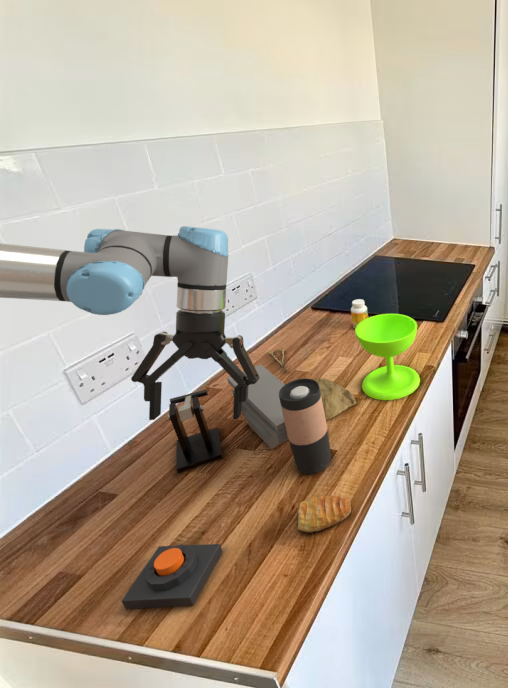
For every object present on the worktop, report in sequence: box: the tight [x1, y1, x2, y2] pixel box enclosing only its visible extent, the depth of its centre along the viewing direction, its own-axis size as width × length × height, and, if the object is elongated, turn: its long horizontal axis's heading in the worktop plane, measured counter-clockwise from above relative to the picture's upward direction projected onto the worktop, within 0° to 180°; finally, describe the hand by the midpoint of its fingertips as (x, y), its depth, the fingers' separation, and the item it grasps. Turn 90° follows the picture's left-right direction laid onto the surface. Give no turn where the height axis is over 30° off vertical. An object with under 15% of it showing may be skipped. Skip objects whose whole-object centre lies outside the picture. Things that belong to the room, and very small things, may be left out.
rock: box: [315, 377, 357, 421], centre depth 109 cm, size 11×9×10 cm
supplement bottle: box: [350, 298, 369, 330], centre depth 149 cm, size 5×5×10 cm
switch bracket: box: [167, 397, 223, 474], centre depth 94 cm, size 10×8×13 cm
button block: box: [121, 543, 224, 610], centre depth 71 cm, size 10×9×4 cm
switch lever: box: [169, 389, 209, 422], centre depth 96 cm, size 13×7×2 cm, turn 34°
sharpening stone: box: [226, 364, 289, 450], centre depth 102 cm, size 25×8×11 cm, turn 51°
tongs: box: [268, 347, 287, 373], centre depth 129 cm, size 4×13×2 cm, turn 40°
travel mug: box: [279, 378, 332, 475], centre depth 91 cm, size 8×8×20 cm
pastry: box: [297, 494, 352, 533], centre depth 83 cm, size 9×7×4 cm
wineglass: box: [354, 313, 421, 401], centre depth 119 cm, size 16×16×18 cm
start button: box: [154, 548, 184, 576], centre depth 70 cm, size 4×4×2 cm
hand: (197, 417), depth 84 cm, fingers open, 13 cm apart
